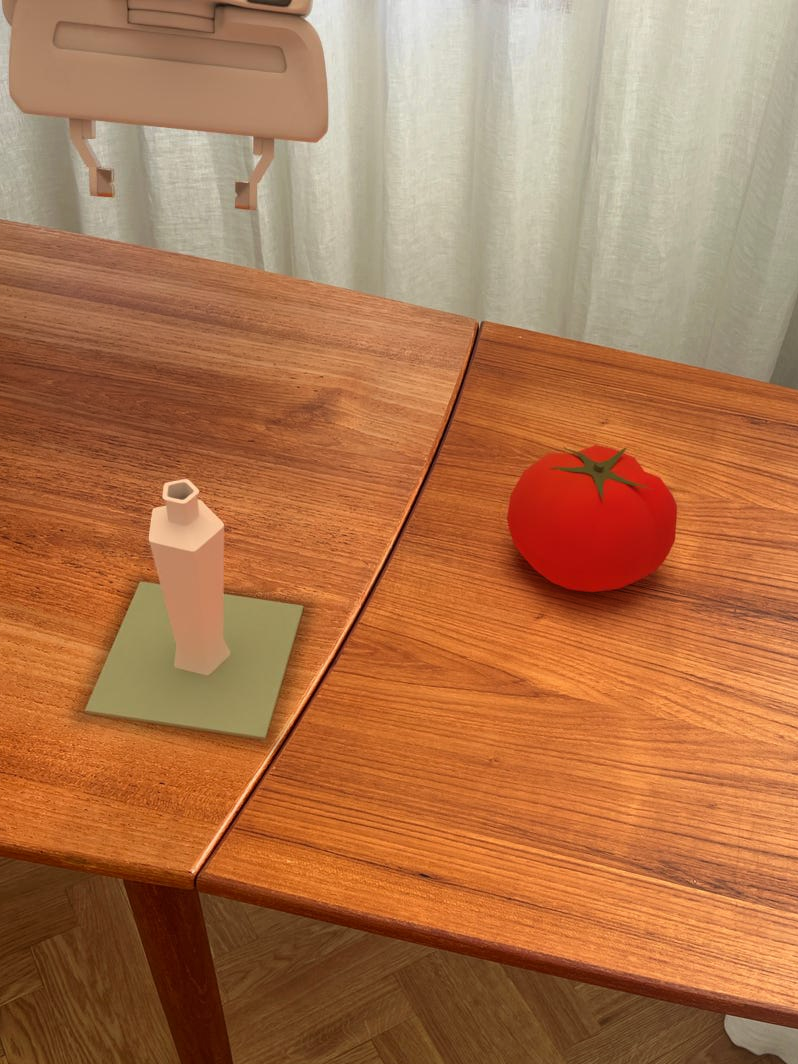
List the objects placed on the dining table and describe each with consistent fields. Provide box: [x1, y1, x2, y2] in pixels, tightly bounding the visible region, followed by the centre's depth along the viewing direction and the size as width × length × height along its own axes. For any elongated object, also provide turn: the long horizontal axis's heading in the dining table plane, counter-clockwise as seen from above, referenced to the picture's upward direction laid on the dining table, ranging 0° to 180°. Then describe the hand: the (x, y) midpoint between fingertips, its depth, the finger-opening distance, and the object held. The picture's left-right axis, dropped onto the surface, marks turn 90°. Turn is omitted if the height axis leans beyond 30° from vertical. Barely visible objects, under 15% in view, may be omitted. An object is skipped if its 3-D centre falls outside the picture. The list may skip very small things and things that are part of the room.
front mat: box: [84, 581, 305, 741], centre depth 80 cm, size 12×12×1 cm
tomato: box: [506, 444, 678, 593], centre depth 86 cm, size 11×13×10 cm
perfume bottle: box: [148, 478, 230, 675], centre depth 74 cm, size 5×4×15 cm
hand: (175, 203), depth 78 cm, fingers open, 8 cm apart
